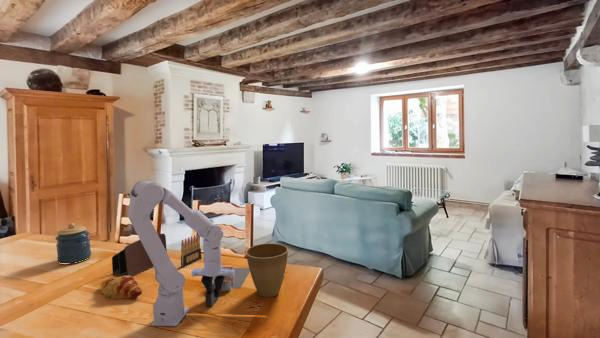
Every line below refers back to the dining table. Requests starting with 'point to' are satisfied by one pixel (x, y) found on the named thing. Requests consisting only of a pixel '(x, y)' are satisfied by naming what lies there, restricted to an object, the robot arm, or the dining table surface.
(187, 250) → the ammunition clip
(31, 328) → the dining table surface
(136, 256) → the letter holder
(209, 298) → the turner
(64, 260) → the canister
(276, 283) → the plant pot
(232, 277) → the tile
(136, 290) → the croissant
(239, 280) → the mat
